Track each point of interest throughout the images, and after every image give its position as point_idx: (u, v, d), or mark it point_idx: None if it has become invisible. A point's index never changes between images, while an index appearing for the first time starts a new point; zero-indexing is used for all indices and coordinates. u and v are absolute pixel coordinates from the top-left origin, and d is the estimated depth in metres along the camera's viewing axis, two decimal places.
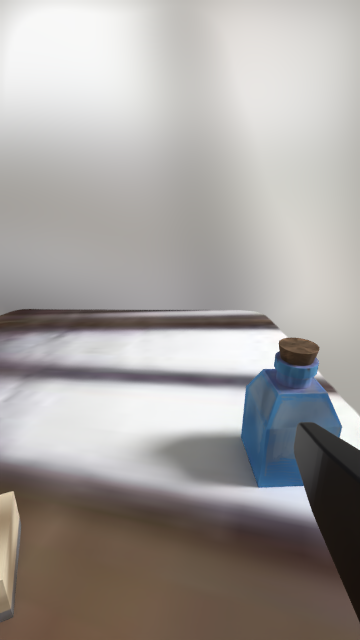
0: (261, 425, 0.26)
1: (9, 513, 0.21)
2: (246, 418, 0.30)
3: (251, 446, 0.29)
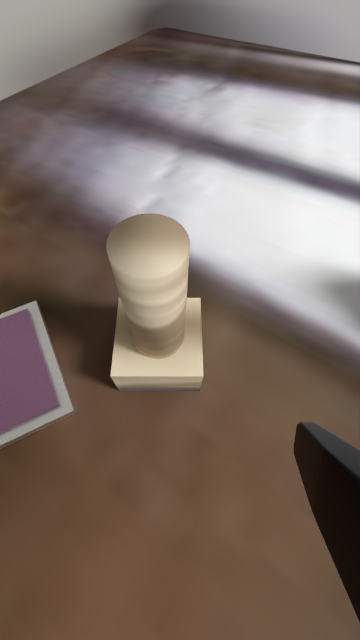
0: None
1: (200, 319, 0.22)
2: None
3: None
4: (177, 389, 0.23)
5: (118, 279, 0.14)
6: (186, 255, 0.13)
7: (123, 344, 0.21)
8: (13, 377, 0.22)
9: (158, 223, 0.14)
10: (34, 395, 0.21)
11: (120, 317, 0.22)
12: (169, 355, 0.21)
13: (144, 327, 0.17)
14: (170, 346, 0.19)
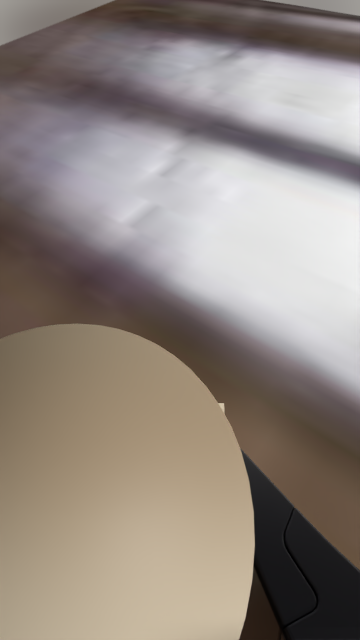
0: None
1: None
2: None
3: None
4: None
5: None
6: (242, 608, 0.02)
7: None
8: None
9: (105, 375, 0.03)
10: None
11: None
12: None
13: None
14: None
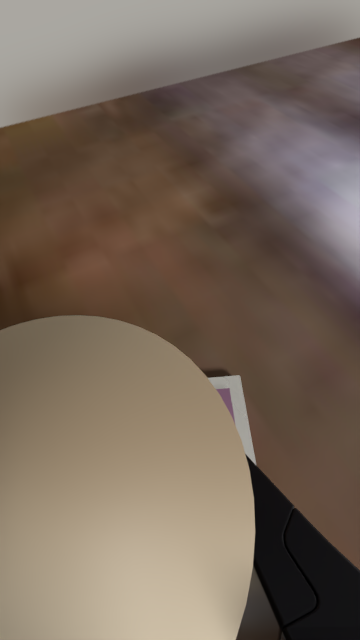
0: None
1: None
2: None
3: None
4: None
5: None
6: (243, 595, 0.02)
7: None
8: None
9: (106, 365, 0.03)
10: None
11: None
12: None
13: None
14: None
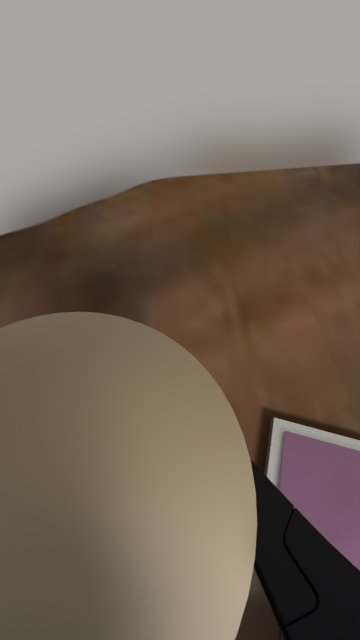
0: None
1: None
2: None
3: None
4: None
5: None
6: (245, 587, 0.02)
7: None
8: None
9: (108, 360, 0.03)
10: None
11: None
12: None
13: None
14: None
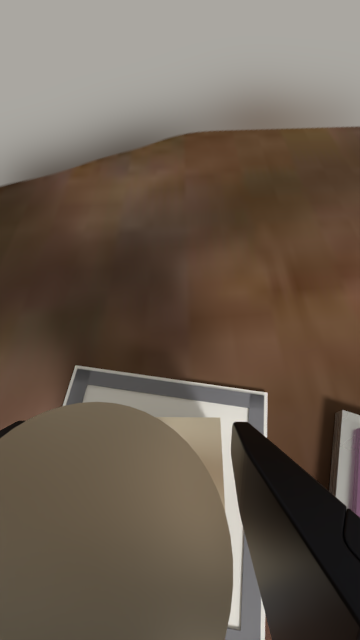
0: None
1: (221, 465, 0.12)
2: None
3: None
4: None
5: None
6: (223, 632, 0.03)
7: None
8: None
9: (119, 447, 0.04)
10: None
11: None
12: None
13: None
14: None
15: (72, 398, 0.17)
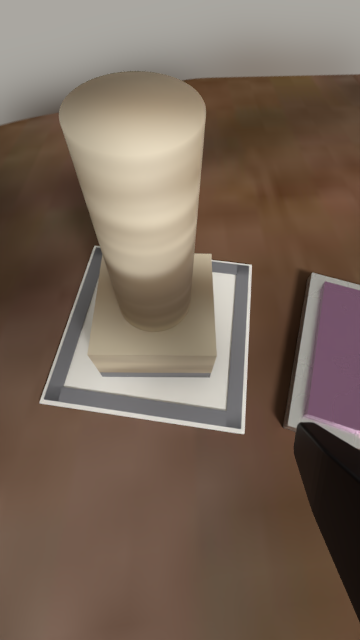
0: None
1: (211, 281, 0.16)
2: None
3: None
4: (180, 375, 0.17)
5: (82, 176, 0.08)
6: (200, 126, 0.07)
7: (107, 312, 0.15)
8: None
9: (151, 83, 0.08)
10: None
11: (103, 277, 0.16)
12: (169, 328, 0.15)
13: (131, 276, 0.11)
14: (171, 312, 0.14)
15: (92, 267, 0.21)
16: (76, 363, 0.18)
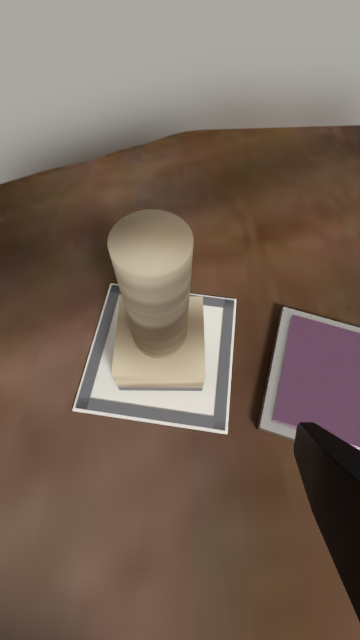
0: None
1: (202, 318, 0.22)
2: None
3: None
4: (179, 389, 0.22)
5: (119, 277, 0.13)
6: (190, 252, 0.13)
7: (124, 343, 0.21)
8: None
9: (160, 219, 0.14)
10: None
11: (121, 315, 0.22)
12: (170, 355, 0.20)
13: (145, 326, 0.16)
14: (172, 345, 0.19)
15: (109, 301, 0.26)
16: (99, 379, 0.23)
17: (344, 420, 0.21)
